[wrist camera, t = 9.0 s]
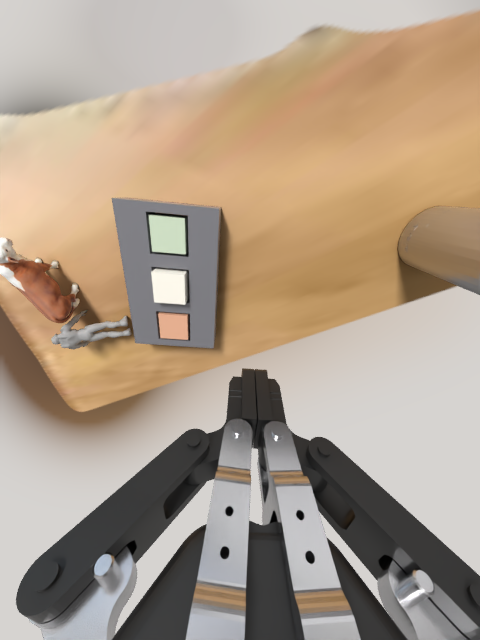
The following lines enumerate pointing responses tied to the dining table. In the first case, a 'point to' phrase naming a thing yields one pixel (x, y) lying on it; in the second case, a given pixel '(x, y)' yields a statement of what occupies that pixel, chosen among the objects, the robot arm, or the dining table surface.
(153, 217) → the sage button
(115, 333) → the grey human figurine
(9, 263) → the bull figurine
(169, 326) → the terracotta button
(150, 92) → the dining table surface
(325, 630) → the robot arm
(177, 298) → the cream button
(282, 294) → the dining table surface
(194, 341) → the button panel
